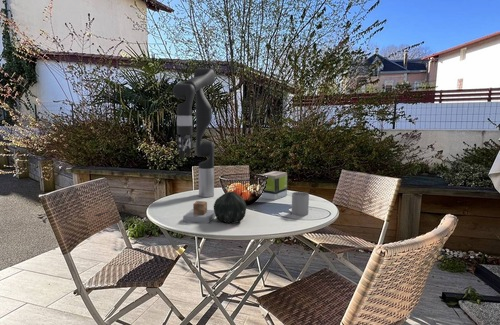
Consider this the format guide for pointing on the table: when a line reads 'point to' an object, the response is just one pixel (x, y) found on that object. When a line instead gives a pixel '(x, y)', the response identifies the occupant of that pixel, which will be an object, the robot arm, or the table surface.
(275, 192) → the tea box
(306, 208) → the cup
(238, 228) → the table surface
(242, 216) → the squash
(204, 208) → the walnut cube
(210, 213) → the stone coaster
